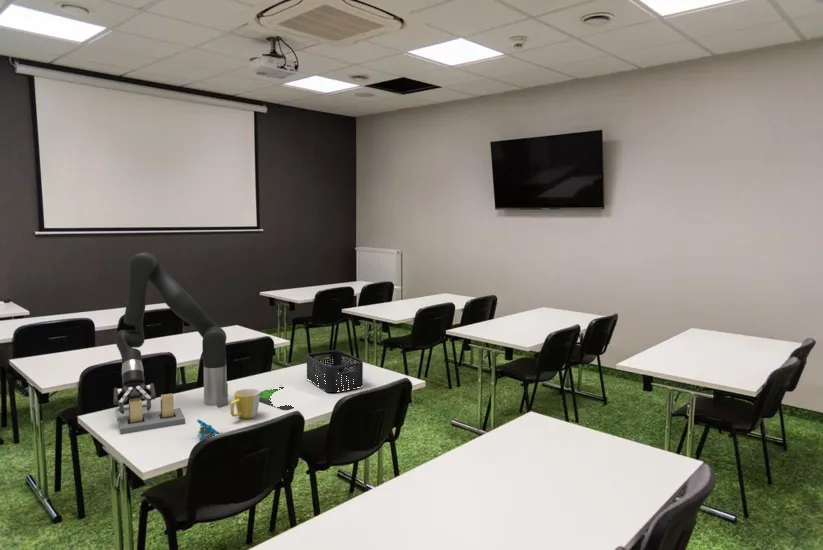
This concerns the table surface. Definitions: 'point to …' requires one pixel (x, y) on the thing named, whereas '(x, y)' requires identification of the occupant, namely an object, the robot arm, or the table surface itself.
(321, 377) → the storage bin
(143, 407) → the light blue tray
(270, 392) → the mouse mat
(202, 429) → the blue and green toy
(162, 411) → the seated billet
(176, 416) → the grey slotted fixture block
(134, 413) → the brass billet
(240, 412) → the mug
